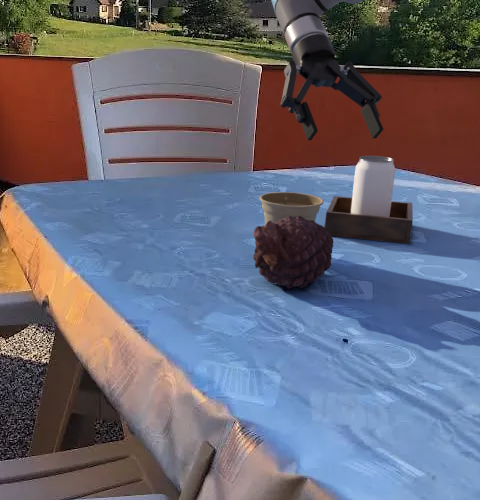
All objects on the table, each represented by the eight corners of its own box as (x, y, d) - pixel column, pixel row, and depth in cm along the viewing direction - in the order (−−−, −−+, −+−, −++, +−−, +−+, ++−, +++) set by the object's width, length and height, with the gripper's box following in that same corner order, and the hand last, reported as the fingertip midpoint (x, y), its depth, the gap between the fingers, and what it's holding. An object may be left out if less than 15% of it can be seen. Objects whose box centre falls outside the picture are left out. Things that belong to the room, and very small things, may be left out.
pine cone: (280, 257, 107) (323, 207, 103) (325, 304, 102) (372, 253, 98) (215, 251, 93) (262, 192, 89) (264, 304, 88) (315, 245, 84)
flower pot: (320, 264, 104) (325, 207, 102) (255, 260, 106) (259, 203, 103) (316, 246, 113) (321, 193, 110) (256, 242, 114) (260, 190, 112)
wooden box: (409, 224, 128) (412, 202, 126) (409, 244, 115) (412, 220, 114) (331, 216, 132) (334, 195, 131) (324, 235, 120) (326, 212, 119)
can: (352, 220, 128) (359, 154, 124) (390, 225, 125) (398, 157, 121) (346, 228, 122) (353, 159, 119) (385, 233, 119) (394, 163, 116)
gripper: (355, 60, 144) (393, 145, 135) (244, 59, 137) (275, 149, 127) (374, 33, 138) (415, 120, 128) (259, 30, 130) (293, 122, 121)
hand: (346, 135), depth 128 cm, fingers open, 13 cm apart
